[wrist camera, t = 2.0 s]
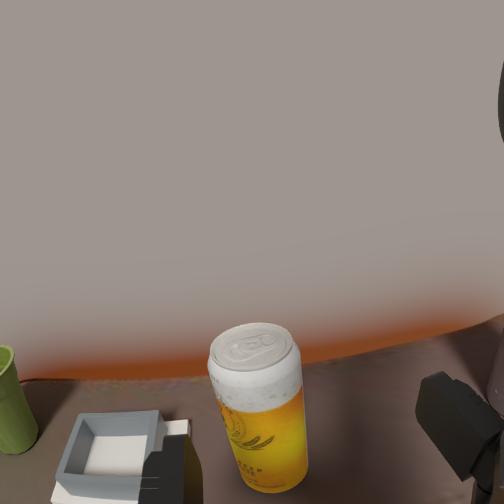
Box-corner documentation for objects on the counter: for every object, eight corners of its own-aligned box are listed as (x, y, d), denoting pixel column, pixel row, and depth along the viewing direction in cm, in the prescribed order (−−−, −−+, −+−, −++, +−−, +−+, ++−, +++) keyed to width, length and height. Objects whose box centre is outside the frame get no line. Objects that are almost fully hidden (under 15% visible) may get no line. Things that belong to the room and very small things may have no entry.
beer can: (233, 460, 26) (195, 334, 22) (291, 439, 28) (275, 311, 24) (255, 506, 21) (217, 384, 16) (320, 480, 22) (316, 350, 18)
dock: (190, 426, 31) (180, 400, 30) (189, 516, 20) (174, 495, 19) (81, 431, 30) (66, 406, 29) (56, 507, 19) (33, 484, 18)
